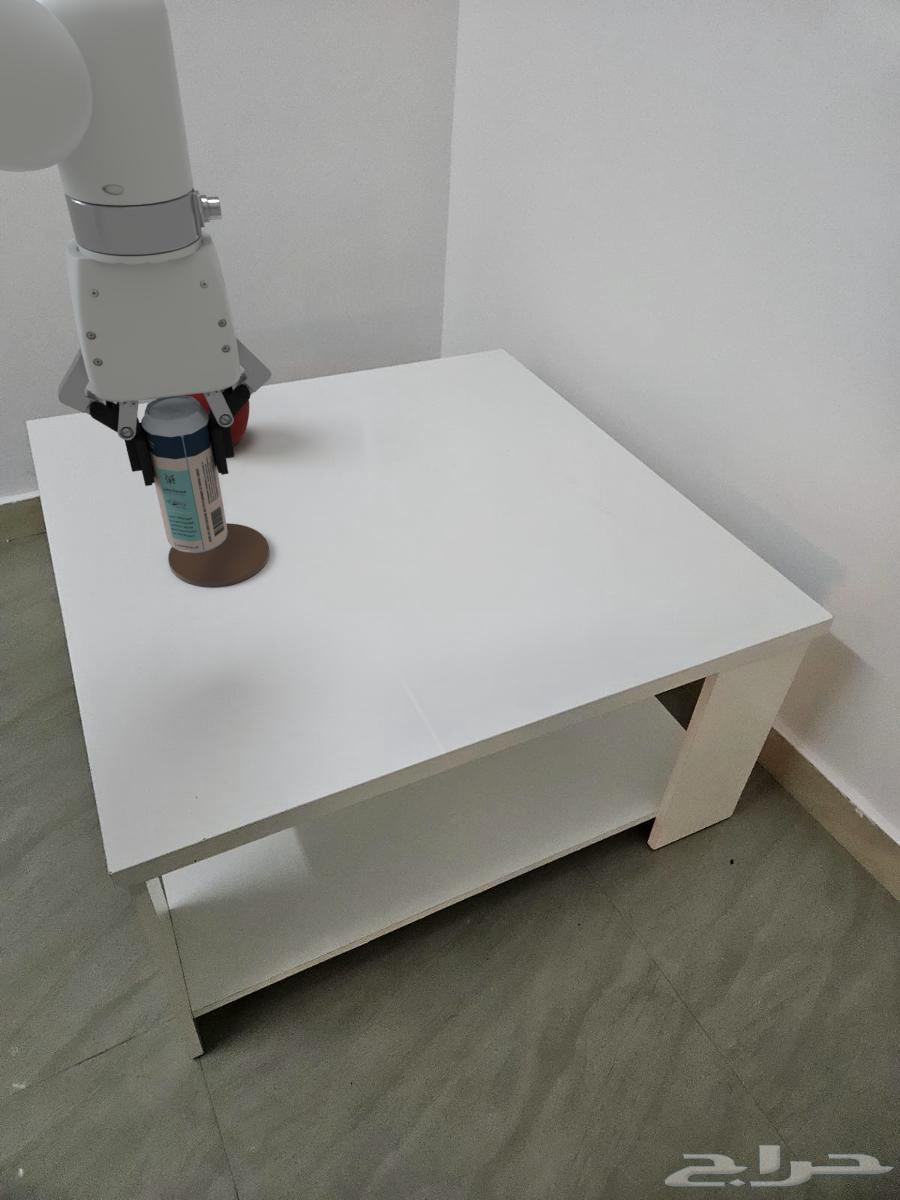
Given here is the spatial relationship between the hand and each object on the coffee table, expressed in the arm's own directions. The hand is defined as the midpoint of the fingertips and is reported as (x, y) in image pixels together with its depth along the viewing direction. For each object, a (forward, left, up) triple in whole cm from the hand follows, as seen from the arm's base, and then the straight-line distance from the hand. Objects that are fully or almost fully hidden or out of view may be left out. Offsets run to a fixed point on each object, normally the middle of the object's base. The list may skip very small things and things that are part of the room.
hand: (184, 468), depth 63 cm
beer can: (0, 0, -7) cm, 7 cm away
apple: (+7, +44, -24) cm, 51 cm away
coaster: (+3, +19, -23) cm, 30 cm away
